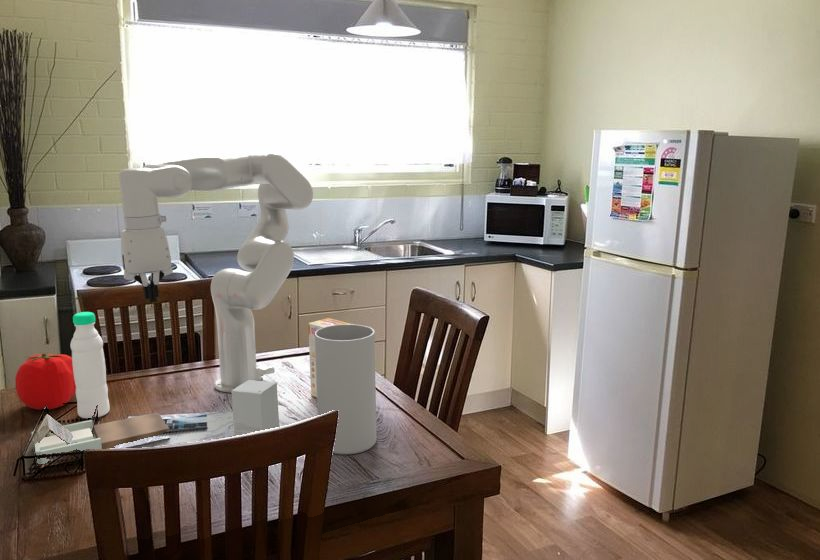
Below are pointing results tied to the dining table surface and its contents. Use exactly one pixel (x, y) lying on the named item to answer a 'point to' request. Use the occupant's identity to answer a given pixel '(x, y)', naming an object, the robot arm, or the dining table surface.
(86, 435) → the tile
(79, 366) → the water bottle
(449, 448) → the dining table surface
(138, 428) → the board
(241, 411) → the supplement box
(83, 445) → the tray
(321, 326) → the coffeecake box
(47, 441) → the tile
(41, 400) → the tomato
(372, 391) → the cylinder vase
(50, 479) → the dining table surface
